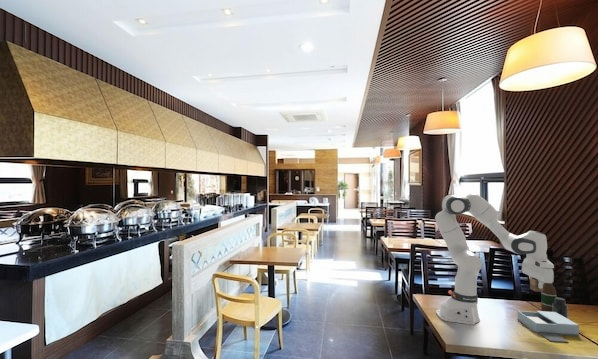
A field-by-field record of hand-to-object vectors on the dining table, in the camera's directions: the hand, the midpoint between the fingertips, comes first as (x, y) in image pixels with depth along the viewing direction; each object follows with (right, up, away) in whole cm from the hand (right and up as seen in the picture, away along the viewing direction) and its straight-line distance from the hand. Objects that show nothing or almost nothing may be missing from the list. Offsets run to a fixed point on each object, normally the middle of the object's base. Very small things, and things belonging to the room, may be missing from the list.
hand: (536, 286), depth 162 cm
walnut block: (0, -2, 0) cm, 2 cm away
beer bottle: (+24, -23, +21) cm, 39 cm away
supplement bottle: (+21, -23, +9) cm, 32 cm away
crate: (+4, -22, -1) cm, 22 cm away
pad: (-2, -21, -13) cm, 25 cm away
